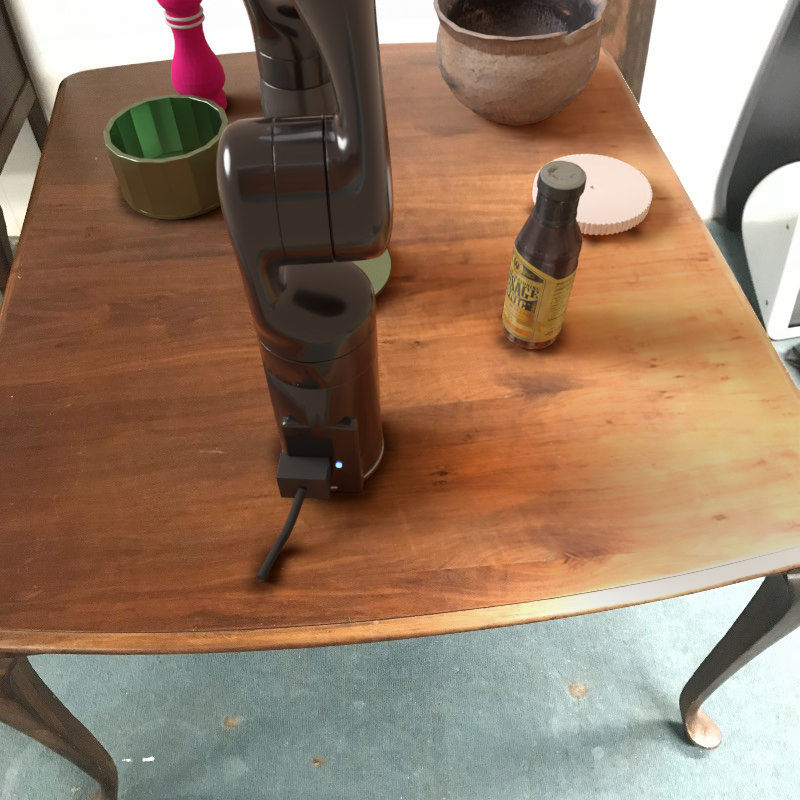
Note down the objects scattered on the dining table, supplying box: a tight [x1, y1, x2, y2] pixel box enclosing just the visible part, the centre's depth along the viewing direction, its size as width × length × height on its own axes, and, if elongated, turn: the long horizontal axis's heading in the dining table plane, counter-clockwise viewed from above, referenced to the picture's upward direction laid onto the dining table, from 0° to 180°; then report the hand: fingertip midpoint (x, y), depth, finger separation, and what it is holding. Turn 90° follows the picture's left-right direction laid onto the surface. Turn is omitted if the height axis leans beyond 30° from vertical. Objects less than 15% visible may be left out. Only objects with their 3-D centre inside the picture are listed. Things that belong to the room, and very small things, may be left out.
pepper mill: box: [156, 0, 228, 111], centre depth 102 cm, size 7×7×20 cm
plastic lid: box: [531, 153, 653, 236], centre depth 93 cm, size 14×14×2 cm
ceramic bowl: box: [432, 0, 611, 126], centre depth 103 cm, size 22×22×15 cm
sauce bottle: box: [501, 160, 587, 350], centre depth 73 cm, size 6×6×20 cm
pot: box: [103, 93, 230, 221], centre depth 95 cm, size 14×14×8 cm
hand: (321, 258), depth 86 cm, fingers closed
